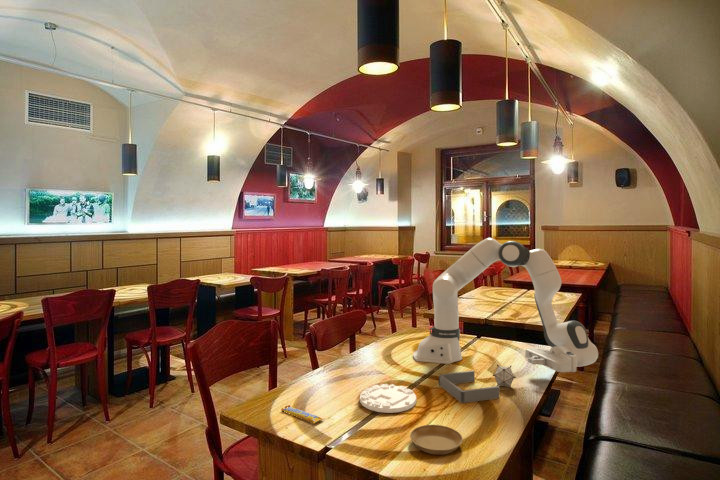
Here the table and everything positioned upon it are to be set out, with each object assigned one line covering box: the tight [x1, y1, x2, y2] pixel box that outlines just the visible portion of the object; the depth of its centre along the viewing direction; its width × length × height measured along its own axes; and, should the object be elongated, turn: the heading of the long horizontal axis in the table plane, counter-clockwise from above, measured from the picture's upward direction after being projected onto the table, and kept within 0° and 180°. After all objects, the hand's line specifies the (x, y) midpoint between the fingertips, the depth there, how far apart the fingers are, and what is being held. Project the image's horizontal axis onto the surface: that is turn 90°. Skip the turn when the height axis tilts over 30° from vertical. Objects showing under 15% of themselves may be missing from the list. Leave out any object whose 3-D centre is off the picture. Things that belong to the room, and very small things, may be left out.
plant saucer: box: [409, 424, 464, 456], centre depth 124 cm, size 15×15×3 cm
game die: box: [492, 364, 517, 389], centre depth 167 cm, size 9×8×10 cm
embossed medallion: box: [359, 383, 417, 414], centre depth 154 cm, size 20×20×3 cm
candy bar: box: [280, 404, 324, 424], centre depth 143 cm, size 17×4×2 cm, turn 52°
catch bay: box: [438, 370, 500, 404], centre depth 163 cm, size 15×18×4 cm
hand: (530, 361), depth 170 cm, fingers closed
